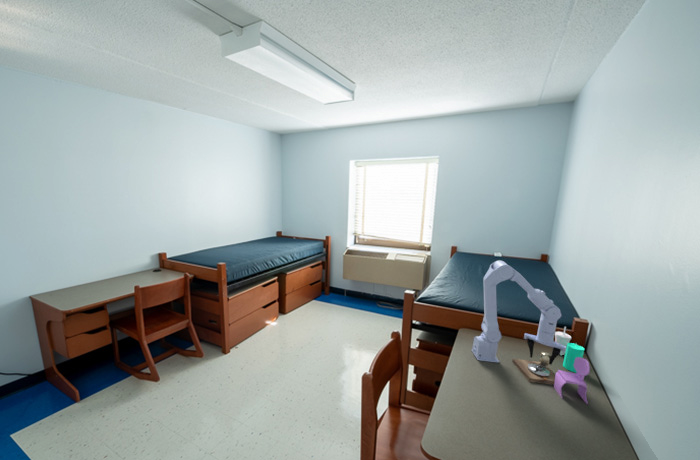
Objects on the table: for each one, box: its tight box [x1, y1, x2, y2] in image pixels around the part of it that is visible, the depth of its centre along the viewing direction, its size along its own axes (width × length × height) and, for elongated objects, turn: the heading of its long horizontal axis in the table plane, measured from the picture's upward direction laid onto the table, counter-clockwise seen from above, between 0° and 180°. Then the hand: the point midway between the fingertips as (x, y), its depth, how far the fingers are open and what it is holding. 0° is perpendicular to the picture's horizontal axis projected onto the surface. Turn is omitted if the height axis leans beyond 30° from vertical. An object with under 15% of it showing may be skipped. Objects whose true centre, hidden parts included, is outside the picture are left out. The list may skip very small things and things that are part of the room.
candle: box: [562, 342, 585, 373], centre depth 119 cm, size 6×6×12 cm
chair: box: [553, 357, 590, 405], centre depth 101 cm, size 8×9×15 cm
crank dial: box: [528, 351, 552, 377], centre depth 114 cm, size 12×8×5 cm, turn 126°
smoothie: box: [554, 326, 572, 356], centre depth 130 cm, size 6×6×14 cm
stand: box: [512, 358, 556, 386], centre depth 114 cm, size 13×13×2 cm
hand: (540, 359), depth 117 cm, fingers open, 6 cm apart
